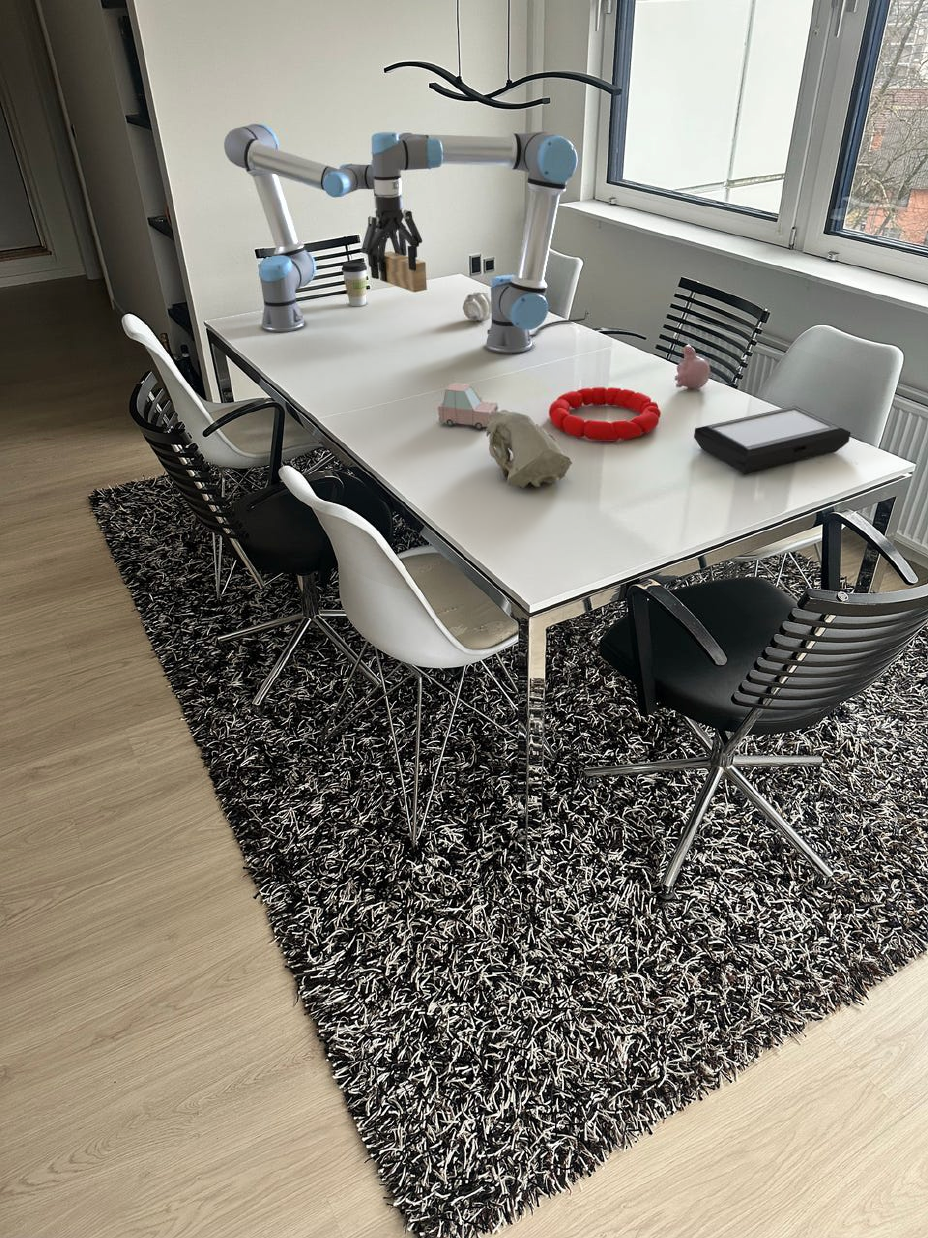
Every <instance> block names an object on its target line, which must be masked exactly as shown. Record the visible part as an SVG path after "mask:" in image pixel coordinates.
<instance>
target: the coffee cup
mask: <svg viewBox="0 0 928 1238" xmlns="http://www.w3.org/2000/svg"><path fill="white" fill-rule="evenodd" d="M367 270H368V266H367V264H366V262H365V261H359V260H353V261H351V260H350V261H346V262H344V263H342V266H341V271H342V273H343V280H344V285H345V289H346V295H347V298H348V302H349V306H351V307H362V306H365V305H366V303H367V301H366V300H367V299H366V298H367Z"/></svg>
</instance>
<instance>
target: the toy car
mask: <svg viewBox="0 0 928 1238" xmlns="http://www.w3.org/2000/svg"><path fill="white" fill-rule="evenodd" d="M498 409H499V404H498V403H497V402H490V401H489V402H487V401H483V397H481V396H480V395H479V394H478V393H477V391H476V390H475V389H474V386H472V384H469V383H459V382H451V383H450V384H449V385H448V386H447V387H446V388H445V389H444V394H443V399H442V403H440V404H439V405H438V406H437V413H438V421H439V422H443V423H446V425H447V426H448V427H452V426H454V425H455V424H461V425H469V426H473V427H475V429H476V430H479V431H480V430H481V429H483V428H485V427H486V428H487V423H488V422H490V414H491V413H492V412H496V411H499V410H498Z"/></svg>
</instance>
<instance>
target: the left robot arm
mask: <svg viewBox="0 0 928 1238" xmlns="http://www.w3.org/2000/svg"><path fill="white" fill-rule="evenodd" d="M223 149H224V152H225V155H226V157H227V159H228V160H229V161H230V162H231V163H232V165H234V166H236V167H239V168H242V169H245V171H246V173H247V174H248V175H250V176H251V177H252V179H253V182H254V184H255V188H256V191H257V194H258V197H259V200H260V203H261V207H262V209H263V212H264V215H265V219H266V221H267V225H268V228H269V231H270V234H271V237H272V240H273V244H274V246H275V249H274V252H273V255H272V256H268V257H266V258H263V259H262V260H261V261H260V262H259V264H258V277H259V281H260V287H261V292H262V299H263V313H262V319H261V326H262V330H264V331H265V332H271V333H286V332H293V331H296V330H297V331H298V330H300V329H302V328H304V326H305V319H304V317H303V314H302V312H301V310H300V307H299V306H298V305H299V304H298V303H297V295H296V294H297V293H296V291H297V290H299V289H300V288H302V287H306V286H307V285H308V284H310V283H311V282H312V281H313V280H314V279H315V276H316V273H317V263H316V260H315V258H314V256H313V255H312V254H310V252H308V251H307V250H306V247H305V244H304V243H302V242H301V241H299V238H298V235H297V232H296V229H295V224H294V223H293V222H294V221H293V218H292V216H291V213H290V209H289V206H288V203H287V200H286V197H285V193H284V190H283V187H282V184H281V181H280V177H281V178H283V179H287V180H290V181H294V182H297V183H299V184H301V185H302V184H303V185H305V186H309V187H312V188H314V189H318V190H321V191H324V192H325V193H326V194H327V195H328V196H330V197H331V198H342V197H344V196H347V195H348V194H350V193H353V192H355V191H358V190H373V196H374V208H375V211H374V212H375V217H377V216H378V212H377V209H376V197H377V195H376V194H375V185H374V169H373V158H372V159H371V164H359V163H358V164H357V163H356V164H355V163H346V164H345V163H344V164H341V165H340V166H339V168H336V167H333V166H330V165H327V164H324V163H321V162H319V161H318V162H317V161H315V160H311V159H308V158H305V157H302V156H298V155H295V154H292V153H289V152H287V151H284V150H280V145H279V140H278V136H277V135H276V133H275V132H274V131H273V130H272V129H271V128H270V127H268V126H267V125H266V124H261V123H253V124H249V125H244V126H240V127H236V128H233V129H231V130H230V131H229V132H228V133H227V135H226V136H225V138H224V142H223ZM378 225H379V223H378ZM378 225H377V226H376V229H377V227H378ZM405 228H406V229H407V227H406V226H405ZM376 232H377V230H376V231H375V234H376ZM397 232H398V234H397ZM375 234H374V236H375ZM388 239H390V240H391V244H392V248H393V252H394V253H397V254H401V255H404V256H408V250H407V240H406V239H405V238H404V237H403V235H402V234H401V233H400V232H399V230H396V231H395V230H393V231H391V232H387V233H386V234H385V235H384V237H383V239H382V241H381V243H380V245H379V247H378V249H377V251H376V253H375V255H377V257H378V270H379V271H380V272H381V280H382V281H381V280H380V281H381V282H384V281H385V282H384V283H386V282H387V274H386V262H384V254H385V252H386V246H387V242H388Z"/></svg>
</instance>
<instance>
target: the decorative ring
mask: <svg viewBox="0 0 928 1238" xmlns="http://www.w3.org/2000/svg"><path fill="white" fill-rule="evenodd" d="M583 405H584V406H586V407H587V406H591V405H593V406H604V405H608V406H614V407H619V408H624V409H628V410H632V411H635V412H636V413H638V414H639V415H637V416H635V417H632V418H631V419H630V420H625V419H624V420H623V419H622V420H614V421H611V422H609V421H607V420H606V421H605V420H593V419H587V420H586V421H585V419H584V418H582V417H579V416H577V415H573V414H571V413H570V410H571V409H579V408H581V407H582V406H583ZM548 416H549V419H550V422H551V423H552V425H553V426H554V427H555V428H556V429H558V430H559V431H561V432H563V433H567V434H568V435H569V436H573V437H576V438H580V439H582V438H583V437H585V438H586V439H587V440H591V441H601V442H602V441H603V442H608V441H609V442H610V441H611V442H612V441H615V442H616V441H618V440H630V439H634V438H638V437H641V436H642V434H647V433H650V432H651V431H653V430H654V429H655V428H656V427H657V426H658V424H659V422H660V421H659V420H660V417H661V410H660V408H659V405H658V403H657V402H656V401H652V399H651V397H649V396H648V395H646V394H644V393H642V392H635V391H634V390H632V389H628V388H624V389H622V388H620V387H613V386H612V387H611V386H610V387H608V388H606V387H604V386H594V387H585V388H584V387H583V388H580V389H578V390H571V391H568V392H565V393H563V394H561V395H560V396H558V397H557V398H556V400H554V401H552V403H551V404H550V407H549V409H548Z"/></svg>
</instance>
